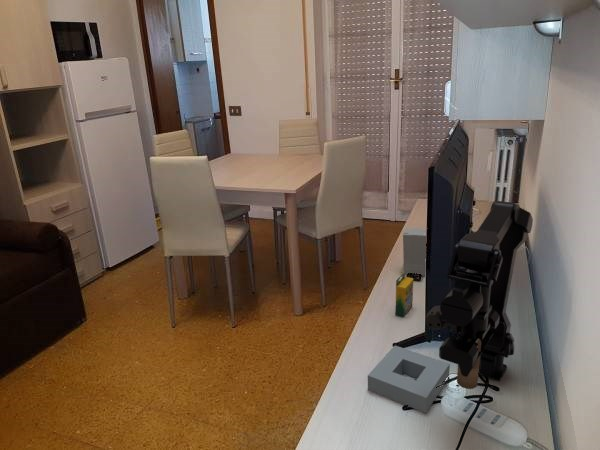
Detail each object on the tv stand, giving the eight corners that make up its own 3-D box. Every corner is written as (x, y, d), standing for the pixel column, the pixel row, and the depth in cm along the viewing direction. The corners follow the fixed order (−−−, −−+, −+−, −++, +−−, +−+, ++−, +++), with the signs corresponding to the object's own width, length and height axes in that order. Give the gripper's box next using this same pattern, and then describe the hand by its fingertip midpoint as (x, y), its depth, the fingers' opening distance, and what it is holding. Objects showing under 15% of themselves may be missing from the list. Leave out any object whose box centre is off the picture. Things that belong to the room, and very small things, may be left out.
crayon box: (404, 318, 136) (405, 282, 132) (394, 315, 137) (395, 280, 134) (413, 307, 142) (413, 272, 138) (403, 304, 143) (404, 270, 139)
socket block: (394, 358, 118) (394, 345, 116) (449, 377, 110) (449, 363, 108) (367, 389, 107) (367, 375, 106) (425, 413, 99) (426, 397, 98)
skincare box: (429, 269, 166) (430, 227, 161) (426, 278, 160) (428, 234, 155) (405, 267, 169) (406, 226, 164) (401, 275, 163) (402, 233, 158)
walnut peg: (460, 374, 98) (463, 333, 95) (480, 380, 96) (483, 338, 92) (454, 384, 95) (456, 342, 92) (473, 391, 93) (477, 348, 89)
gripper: (449, 274, 101) (445, 336, 106) (413, 311, 87) (411, 381, 92) (503, 286, 94) (496, 352, 100) (474, 328, 80) (468, 402, 86)
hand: (468, 370), depth 94 cm, fingers closed on walnut peg, 4 cm apart
